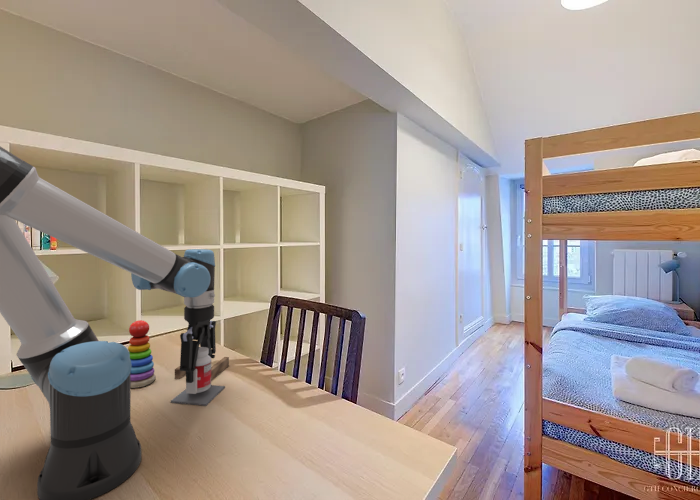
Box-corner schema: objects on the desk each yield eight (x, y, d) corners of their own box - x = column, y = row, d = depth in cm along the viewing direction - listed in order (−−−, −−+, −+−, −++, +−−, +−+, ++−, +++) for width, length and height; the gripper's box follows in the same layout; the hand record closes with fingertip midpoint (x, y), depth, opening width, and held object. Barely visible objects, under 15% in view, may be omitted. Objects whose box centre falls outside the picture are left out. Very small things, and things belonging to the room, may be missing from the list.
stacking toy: (161, 377, 100) (161, 318, 99) (142, 390, 92) (142, 325, 91) (138, 375, 100) (137, 316, 99) (117, 388, 92) (116, 323, 92)
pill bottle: (181, 391, 88) (181, 351, 87) (199, 381, 94) (199, 344, 93) (199, 395, 86) (199, 355, 85) (215, 385, 92) (216, 347, 91)
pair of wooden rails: (210, 381, 98) (210, 371, 98) (174, 378, 99) (174, 369, 99) (228, 365, 110) (228, 357, 110) (197, 363, 111) (197, 354, 111)
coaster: (206, 405, 84) (206, 403, 84) (170, 402, 85) (170, 400, 85) (224, 387, 94) (224, 386, 94) (192, 385, 95) (192, 383, 95)
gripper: (191, 314, 79) (191, 406, 80) (229, 298, 98) (228, 373, 99) (163, 312, 79) (163, 403, 81) (205, 297, 99) (205, 371, 100)
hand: (198, 386), depth 90 cm, fingers open, 6 cm apart
